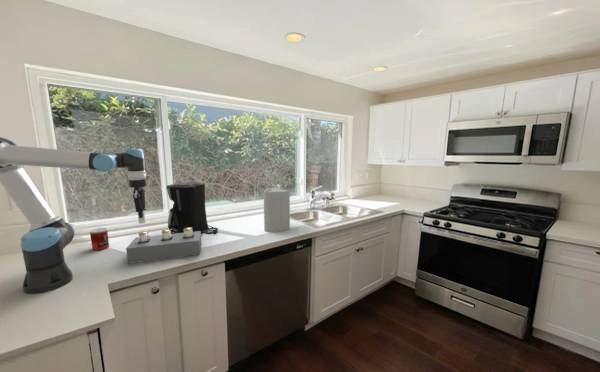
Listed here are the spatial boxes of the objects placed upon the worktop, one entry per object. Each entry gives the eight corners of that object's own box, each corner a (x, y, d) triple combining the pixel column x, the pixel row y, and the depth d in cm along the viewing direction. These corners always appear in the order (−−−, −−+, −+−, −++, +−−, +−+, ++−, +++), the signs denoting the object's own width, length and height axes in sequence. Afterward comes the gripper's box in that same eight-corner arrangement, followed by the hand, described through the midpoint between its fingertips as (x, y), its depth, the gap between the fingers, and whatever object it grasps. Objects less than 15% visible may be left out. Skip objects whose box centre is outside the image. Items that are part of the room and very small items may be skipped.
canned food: (100, 251, 140) (97, 232, 138) (88, 250, 142) (86, 231, 140) (112, 246, 148) (110, 228, 146) (101, 245, 149) (99, 227, 147)
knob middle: (171, 244, 137) (169, 231, 135) (162, 245, 135) (160, 231, 134) (172, 241, 141) (171, 228, 140) (163, 242, 139) (162, 229, 138)
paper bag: (256, 228, 179) (255, 190, 174) (271, 223, 190) (271, 187, 185) (275, 234, 167) (274, 193, 162) (290, 229, 178) (290, 190, 173)
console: (200, 254, 137) (199, 240, 135) (127, 263, 126) (126, 248, 125) (201, 243, 152) (200, 230, 150) (137, 250, 141) (135, 237, 140)
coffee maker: (175, 226, 183) (171, 181, 177) (221, 224, 188) (218, 180, 183) (164, 237, 161) (159, 186, 155) (216, 235, 166) (213, 185, 161)
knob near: (148, 246, 133) (146, 233, 132) (138, 247, 132) (137, 234, 131) (150, 243, 137) (148, 230, 136) (141, 244, 136) (139, 231, 135)
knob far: (192, 241, 140) (191, 228, 139) (184, 242, 139) (183, 229, 137) (193, 239, 144) (192, 226, 143) (185, 240, 143) (184, 227, 142)
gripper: (142, 180, 124) (147, 226, 128) (148, 177, 136) (153, 218, 140) (124, 181, 121) (130, 227, 125) (133, 177, 134) (137, 220, 137)
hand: (142, 222), depth 133 cm, fingers closed
